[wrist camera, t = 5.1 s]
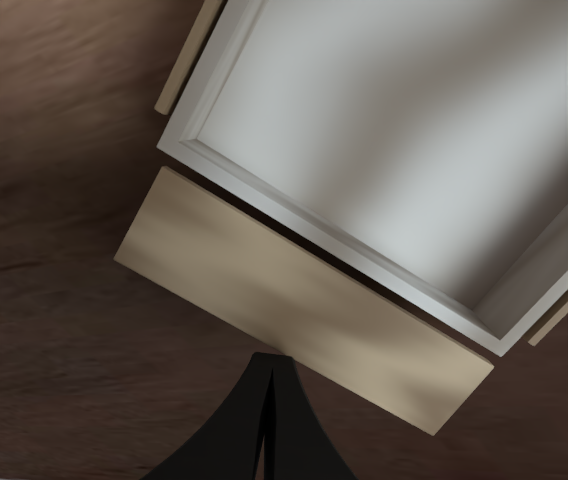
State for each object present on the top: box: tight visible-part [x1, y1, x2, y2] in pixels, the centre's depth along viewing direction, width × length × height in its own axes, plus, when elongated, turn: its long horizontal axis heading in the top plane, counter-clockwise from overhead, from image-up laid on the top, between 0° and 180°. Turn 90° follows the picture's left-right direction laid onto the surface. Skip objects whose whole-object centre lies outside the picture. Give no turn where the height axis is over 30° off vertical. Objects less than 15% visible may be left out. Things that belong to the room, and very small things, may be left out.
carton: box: [154, 0, 568, 357], centre depth 11 cm, size 15×13×3 cm
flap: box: [113, 166, 494, 436], centre depth 12 cm, size 13×1×3 cm
